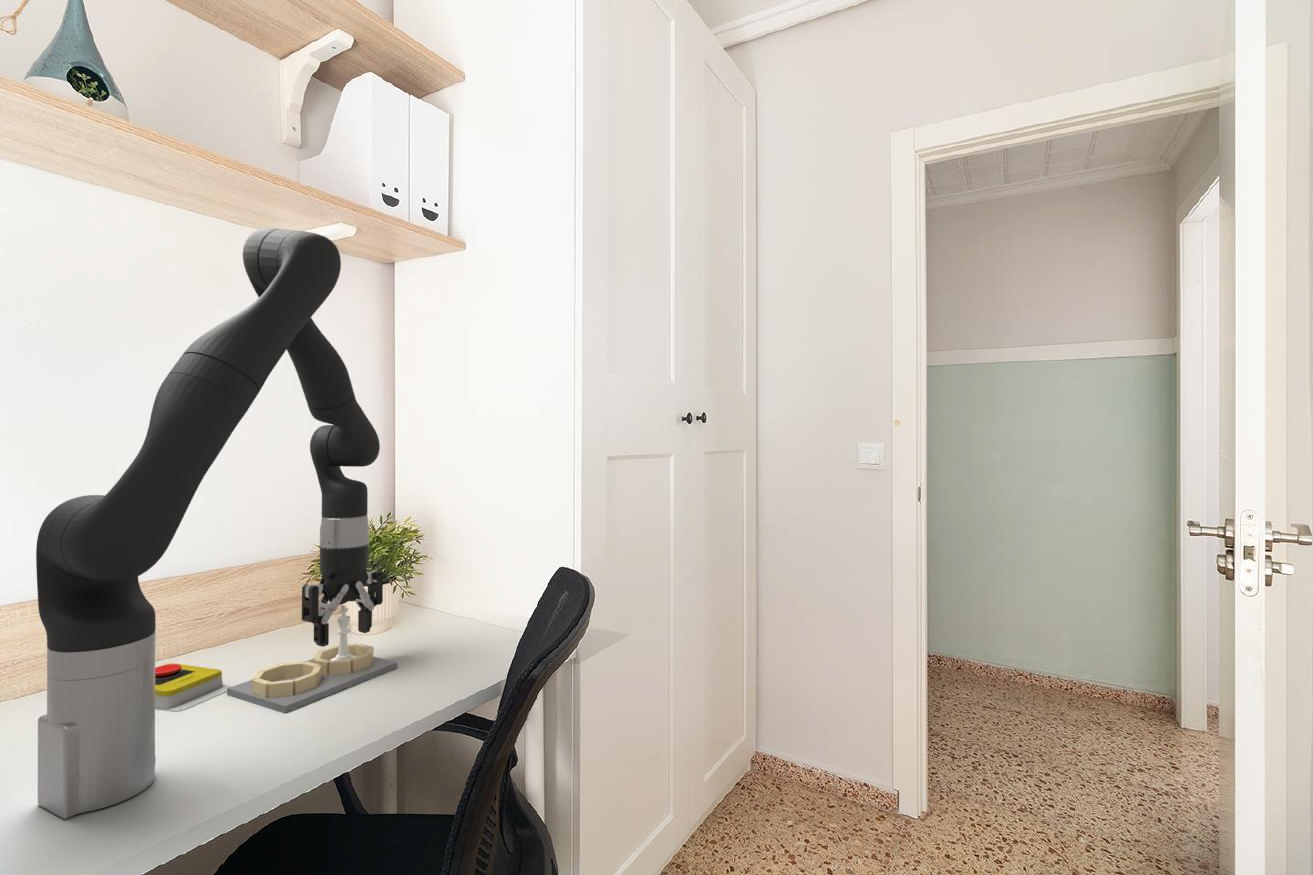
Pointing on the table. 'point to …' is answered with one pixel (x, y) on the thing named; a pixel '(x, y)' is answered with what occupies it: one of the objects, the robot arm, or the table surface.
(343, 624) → the chess piece
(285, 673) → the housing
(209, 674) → the emergency button
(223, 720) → the table surface
